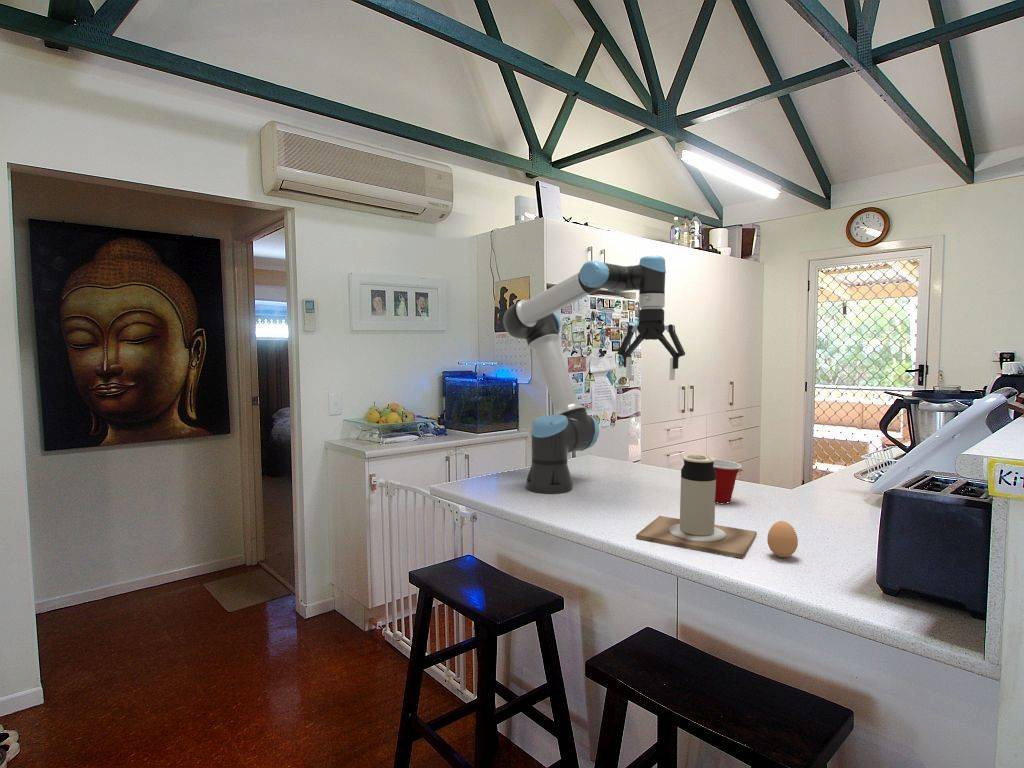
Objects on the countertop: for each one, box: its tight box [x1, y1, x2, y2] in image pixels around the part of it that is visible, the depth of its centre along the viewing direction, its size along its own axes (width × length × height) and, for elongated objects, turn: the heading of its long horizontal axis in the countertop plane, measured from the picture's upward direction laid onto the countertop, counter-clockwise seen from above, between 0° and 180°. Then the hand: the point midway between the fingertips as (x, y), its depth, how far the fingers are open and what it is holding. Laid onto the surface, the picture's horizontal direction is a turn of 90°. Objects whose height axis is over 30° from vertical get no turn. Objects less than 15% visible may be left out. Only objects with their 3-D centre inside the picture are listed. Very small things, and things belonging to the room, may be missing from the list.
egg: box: [767, 520, 799, 559], centre depth 122 cm, size 6×6×8 cm
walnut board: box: [635, 515, 757, 559], centre depth 135 cm, size 24×18×1 cm
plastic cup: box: [713, 458, 742, 503], centre depth 166 cm, size 11×11×12 cm
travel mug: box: [679, 454, 716, 536], centre depth 135 cm, size 8×8×18 cm
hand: (649, 379), depth 170 cm, fingers open, 13 cm apart
